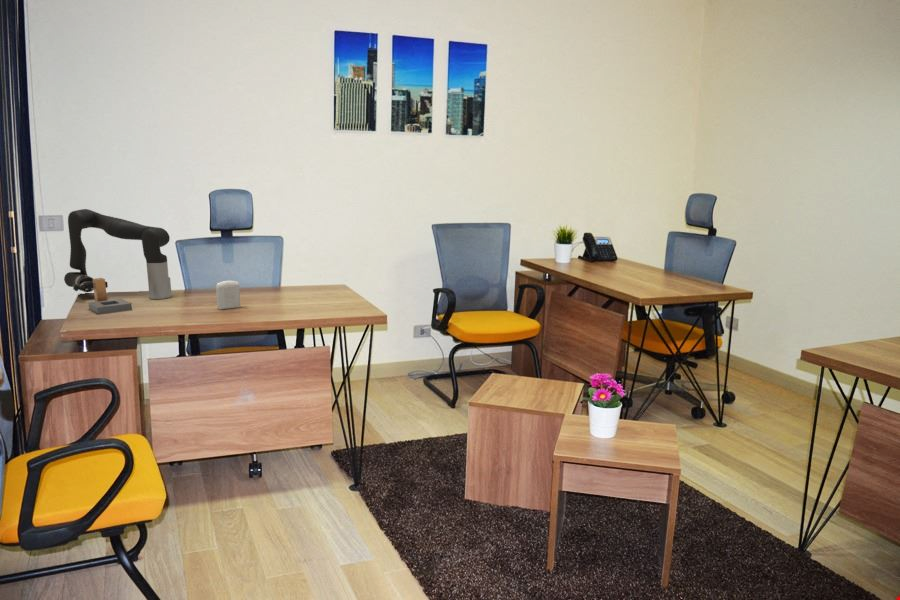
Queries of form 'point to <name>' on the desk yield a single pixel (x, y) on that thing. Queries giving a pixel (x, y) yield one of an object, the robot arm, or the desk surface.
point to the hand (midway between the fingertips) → (94, 287)
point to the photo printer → (228, 295)
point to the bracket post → (99, 289)
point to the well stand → (110, 306)
